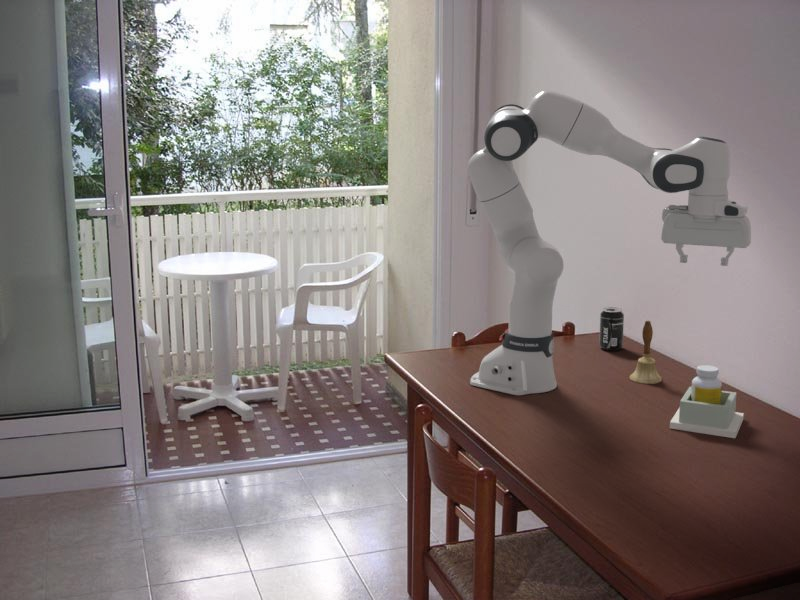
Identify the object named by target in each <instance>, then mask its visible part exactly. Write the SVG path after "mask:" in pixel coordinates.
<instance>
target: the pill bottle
mask: <svg viewBox="0 0 800 600" xmlns="http://www.w3.org/2000/svg"><path fill="white" fill-rule="evenodd" d="M719 370H720V369H719V368H718V367H717V366H714V365H709V364H708V365H707V364H705V365H702V364H701V365H698V366H697V367H696V375H697V376H695V377H694V378H693V379H692V380H691V387H692V390H691V401H696V402H703V403H710V404H718V405H721V392H722V391H723V382H722V380H721V379H720V378H718V376H719V372H720V371H719Z"/></svg>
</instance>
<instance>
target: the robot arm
mask: <svg viewBox="0 0 800 600" xmlns="http://www.w3.org/2000/svg"><path fill="white" fill-rule="evenodd" d="M539 138H541V139H543V138H544V139H547V140H549V141H551V142H554V143H556V144H558V145H560V146H562V147H564V148H566V149H568V150H570V151H574V152H576V153H580V154H584V155H588V156H595V155H597V156H604V157H608V158H610V159H613V160H615V161H617V162H618V163H621V164H623V165H625V166H626V167H629V168H630V169H631V168H632V169H633V170H635V171H636V172H638V173H639V174H640V175H641V176H642V178H643V179H644V180H645V182H646V183H648V185H650V186H651V187H652V188H654V189H656V190H660V191H662V192H664V193H667V194H676V193H680V192H685V191H688V196H687V197H688V199H687V205H684V204H683V205H675V204H670V205H668V206H666V207H665V208H663V209H662V213H661V221H662V222H663V224H662V225H663V226H662V229H661V234H660V235H661V238H660V240H661V241H662V243H664V244H673V245H675V250H676V252H677V253H678V255H679V263H682V264H683V263H684V264H687V263H688V254H685V253H684V250H683V248H684V245H687V246H688V245H689V246H691V245H692V246H702V247H703V246H704V247H706V246H707V247H719V248H720V247H722V248H726V252H728V253H727V254H726V256H725V257H723V256H722V257H721V258H720V266H722V267H728V266H729V259H730V257H731V256H732V254H733V253H734V251H735V248H736V249H737V248H738V249H746V248H748V247H749V246H750V245H751V243H752V242H751V241H752V228H751V227H752V225H751V221H750V219H749V217H748V216H746V215H747V213H748V206H747V205H746V204H742V203H741V202H737V201H734V200H731V199H729V190H728V181H729V178H730V174H731V173H730V171H731V154H730V147H729V145H728V143H726V141H724V140H722V139H718V138H712V137H708V136H696V137H695V138H694V139H693V140H692V141H690V142H688V143H687V144H684V145H682V146H680V147H678V148H676V149H671V148H664V147H663V148H660V147H658V148H656V147H655V148H654V147H651V146H650V147H649V146H648V145H645V144H643V143H641V142H639V141H637V140H635V139H633V138H630V137H629V136H628V135H627V136H626V135H625V134H623V133H621V132H620V131H619V130H618V129H617V128H616V127H614V125H613V124H612V123H611V121H610V119H609V118H608V117H607V116H605V115H604V114H603V113H601V112H600V111H599V110H597V109H596V108H595V107H593V106H591V105H589V104H587V103H585V102H583V101H581V100H579V99H576V98H574V97H571V96H568V95H566V94H564V93H560V92H555V91H552V90H548V89H547V90H542V91H539V92H538V93H536V95H535V96H533V98H532V99H531V100H530V102H529V104H528V106H526V107H525V108H524V107H523V106H520V105H518V104H509V103H508V104H505V105H502V106H500V107H498V108H497V109H496V110H495V111H494V112H493V113H492V115H491V117H490V118H489V119H488V121H487V123H486V126H485V132H484V139H483V140H484V144H485V145H484V146H485V147H483V148H482V149H480V150H478V151H476V152H475V153H474V154H473V155H472V156H471V157H470V159H469V160H468V162H467V171H468V176H469V178H470V182H471V185H472V187H473V190H474V193H475V196H476V197H477V199H478V202H479V203H480V206H481V207H482V210H483V213H484V214H485V216H486V219H487V221H488V223H489V224H490V226H491V227H490V228H491V229H492V232H493V235H494V237H495V240H496V241H495V242H496V244H497V247H498V249H499V253H500V255H501V257H502V260H503V261H502V262H503V263H504V265H505V266H506V268H507V270H509V271H510V272H511V273H512V274H514V287H513V291H512V294H511V298H510V300H509V302H508V328H507V329H506V330H504V332H503V333H502V334H501V335H500V336H499V342H501V345H499V346H498V347H496V348H495V349H493V350H492V351H490V352H489V353H488V354H486V355H484V357H483V358H482V360H481V362H480V366H479V369H478V370H479V371H477V372H476V373H474V374H473V375H472V376H471V377H470V379H469V380H470V381H469V383H470V385H471V386H475V387H478V388H481V389H482V388H483V389H487V390H491V391H496V392H500V393H504V394H510V395H514V396H524V395H530V394H540V393H541V394H542V393H546V392H551V391H553V390H555V389H556V388H557V387H558V384H557V380H556V375H555V371H554V363H553V353H554V349H555V347H554V346H555V341H554V333H553V332H552V331H553V329H552V328H553V305H554V298H555V293H556V289H557V285H558V281H559V279H560V277H561V275H562V274H563V270H564V259H563V257H562V255H561V254H560V253H561V252H559V251H558V249H557V248H556V247H555V246H554V245H553V244H551V243H550V242H547V241H545V240H544V239H543V238H542V237H541V235H540V234H539V232H538V229H537V226H536V222H535V219H534V218H535V217H534V213H533V212H534V210H533V207H532V205H531V202H530V201H529V198H528V196H527V194H526V191H525V189H524V188H523V185H522V184H521V181H520V179H519V177H518V176H517V173H516V171H515V168H514V165H513V161H514V160H517V159H519V158H520V157H521V156H523V155H524V154H526V152H527V151H528V150H529V149H530V148H531V147H532V146H533V145H534V144H535V143H536V142H537V141H538V139H539Z"/></svg>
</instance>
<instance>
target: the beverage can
mask: <svg viewBox="0 0 800 600" xmlns="http://www.w3.org/2000/svg"><path fill="white" fill-rule="evenodd" d="M622 311H623V310H622V308H620V307H614V306H613V307H612V306H610V307H609V306H606V307H603V308H602V311H601V312H600V315H599V317H600V318H599V339H598V340H599V344H598V345H599V346H600V348H602V350H605V349H606V350H605V351H609V350H611V352H613V351H619V350H620V349H621V348H623V347H624V346H623V345H624V327H625V326H624V324H625V321H624V320H625V314H624V312H622Z"/></svg>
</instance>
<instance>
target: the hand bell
mask: <svg viewBox="0 0 800 600" xmlns="http://www.w3.org/2000/svg"><path fill="white" fill-rule="evenodd" d="M651 323H652V322H651V320H646V321H644V325H643V328H642V340H643V344H644V345H643V356H642V357H639V358H638V360H637V364H636V368H635V370H634V372H632V373H631V374H630V375H629V379H630V380H631V381H632V382H635V383H638V384H643V385H655V384H659V383H661V382H663V378H662V376H660V374H659V372H658V370H657V366H656V360H655V359H654V358H652V357H651V343H652V339H653V336H654V335H653V333H654V331H653V326H652V324H651Z"/></svg>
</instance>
